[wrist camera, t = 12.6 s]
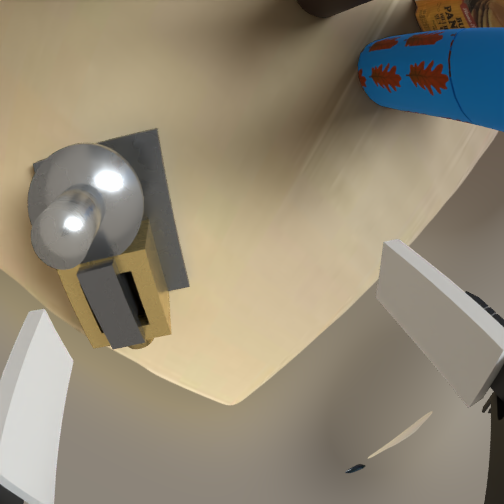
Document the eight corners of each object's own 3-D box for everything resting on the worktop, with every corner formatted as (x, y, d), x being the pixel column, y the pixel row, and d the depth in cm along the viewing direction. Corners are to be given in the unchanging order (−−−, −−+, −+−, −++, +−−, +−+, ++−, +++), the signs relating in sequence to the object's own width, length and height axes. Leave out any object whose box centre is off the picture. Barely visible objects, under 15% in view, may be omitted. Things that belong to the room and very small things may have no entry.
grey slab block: (94, 236, 36) (76, 274, 28) (123, 228, 36) (112, 265, 28) (119, 302, 41) (112, 349, 32) (147, 295, 41) (145, 342, 33)
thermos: (364, 113, 39) (519, 149, 18) (348, 41, 34) (505, 21, 12) (419, 103, 40) (560, 135, 19) (406, 38, 35) (550, 36, 13)
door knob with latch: (35, 154, 31) (-41, 193, 16) (156, 119, 34) (144, 130, 19) (92, 321, 43) (74, 414, 28) (193, 301, 46) (211, 394, 31)
